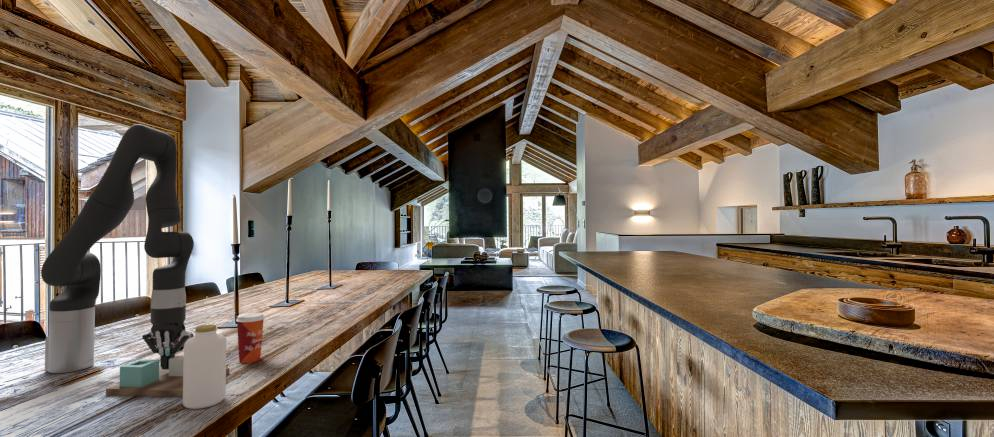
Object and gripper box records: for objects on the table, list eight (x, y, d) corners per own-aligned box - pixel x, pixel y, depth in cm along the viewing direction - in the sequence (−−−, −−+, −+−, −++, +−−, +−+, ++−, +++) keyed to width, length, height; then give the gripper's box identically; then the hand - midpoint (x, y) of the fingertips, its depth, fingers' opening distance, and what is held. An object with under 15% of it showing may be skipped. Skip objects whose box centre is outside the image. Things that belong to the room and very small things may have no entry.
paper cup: (250, 365, 124) (251, 318, 124) (228, 363, 126) (229, 316, 126) (270, 357, 132) (270, 312, 132) (249, 355, 133) (250, 311, 133)
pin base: (105, 394, 102) (106, 370, 102) (160, 371, 118) (160, 350, 118) (185, 396, 102) (185, 372, 102) (229, 373, 118) (229, 351, 118)
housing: (168, 376, 111) (168, 359, 111) (184, 368, 116) (184, 352, 116) (187, 376, 111) (187, 359, 111) (202, 369, 116) (202, 353, 116)
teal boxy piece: (119, 386, 103) (119, 366, 103) (138, 378, 109) (139, 359, 109) (140, 387, 103) (141, 367, 103) (158, 379, 109) (159, 359, 109)
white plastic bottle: (197, 395, 102) (198, 322, 102) (232, 395, 103) (234, 322, 103) (173, 411, 94) (175, 331, 94) (212, 410, 95) (214, 331, 95)
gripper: (132, 307, 110) (131, 373, 110) (181, 308, 110) (180, 374, 109) (156, 301, 117) (155, 363, 117) (202, 302, 117) (201, 364, 117)
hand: (167, 368), depth 113 cm, fingers closed
